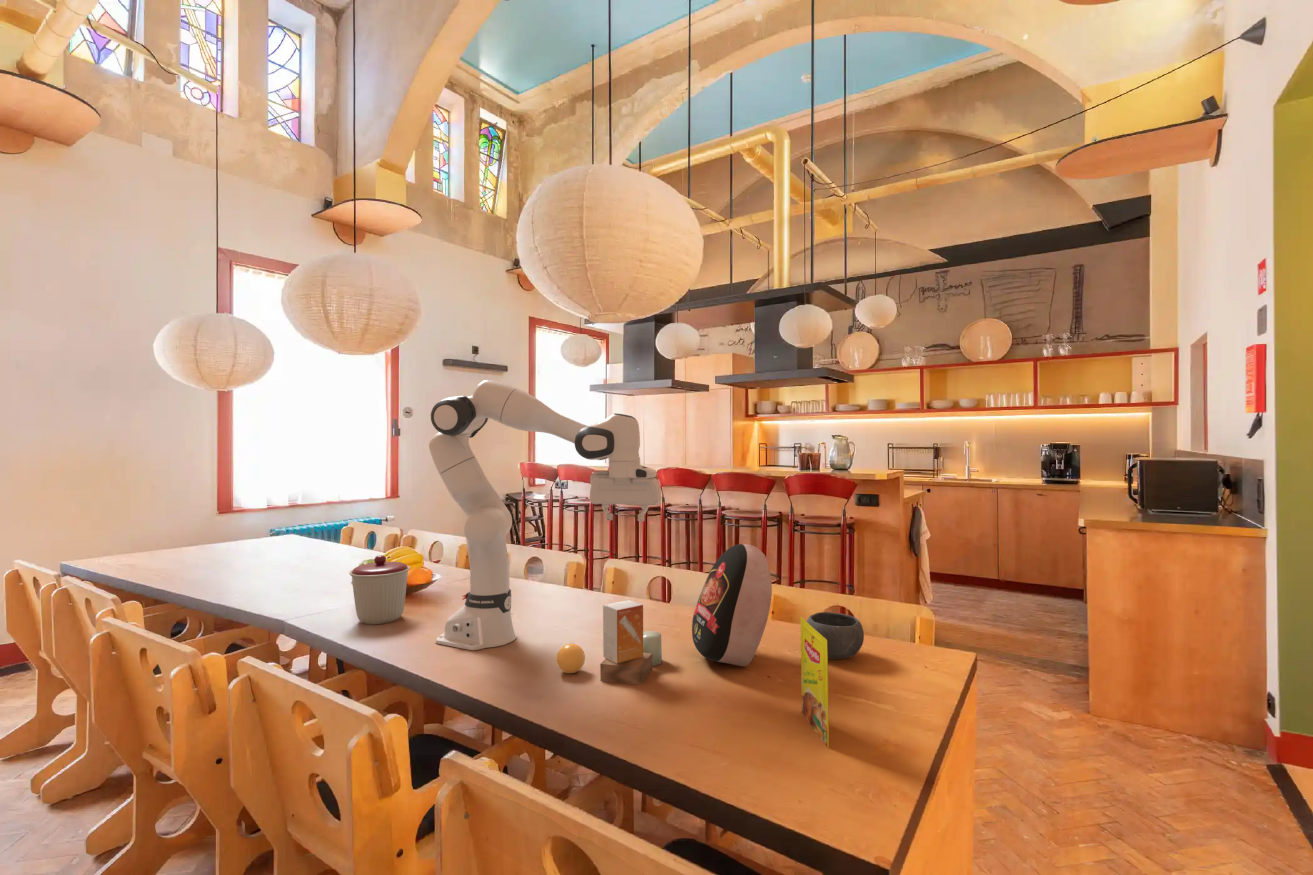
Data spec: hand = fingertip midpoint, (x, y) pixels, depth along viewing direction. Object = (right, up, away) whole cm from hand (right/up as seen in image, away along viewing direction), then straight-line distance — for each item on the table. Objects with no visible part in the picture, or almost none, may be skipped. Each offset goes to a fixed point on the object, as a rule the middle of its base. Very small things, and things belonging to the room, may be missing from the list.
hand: (625, 520), depth 170 cm
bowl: (+56, -35, -10) cm, 66 cm away
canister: (-81, -36, +27) cm, 93 cm away
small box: (+1, -31, -21) cm, 37 cm away
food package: (+40, -35, -50) cm, 73 cm away
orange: (-13, -32, -19) cm, 39 cm away
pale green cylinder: (+7, -35, -13) cm, 38 cm away
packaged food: (+28, -35, -11) cm, 46 cm away
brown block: (+2, -35, -21) cm, 41 cm away
